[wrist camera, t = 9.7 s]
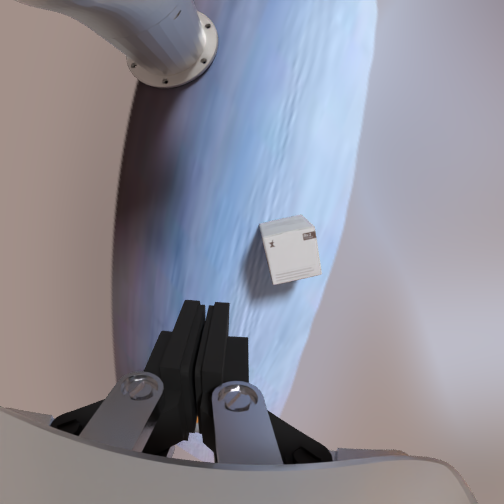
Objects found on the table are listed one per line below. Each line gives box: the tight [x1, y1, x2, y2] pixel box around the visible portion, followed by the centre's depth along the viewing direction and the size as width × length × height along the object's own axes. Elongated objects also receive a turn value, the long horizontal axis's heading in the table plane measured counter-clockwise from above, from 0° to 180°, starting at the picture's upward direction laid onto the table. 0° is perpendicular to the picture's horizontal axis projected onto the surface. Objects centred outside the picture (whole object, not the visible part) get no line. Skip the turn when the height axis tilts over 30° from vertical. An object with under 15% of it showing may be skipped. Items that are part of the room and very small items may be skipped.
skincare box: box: [259, 215, 322, 285], centre depth 37 cm, size 6×6×7 cm
